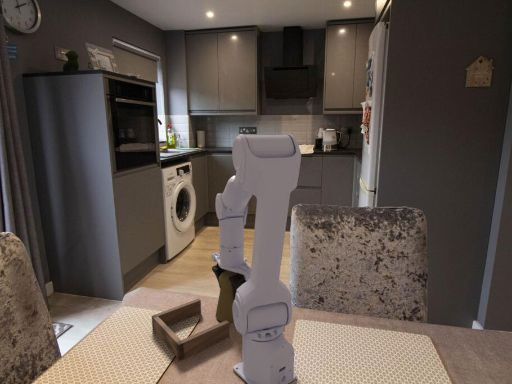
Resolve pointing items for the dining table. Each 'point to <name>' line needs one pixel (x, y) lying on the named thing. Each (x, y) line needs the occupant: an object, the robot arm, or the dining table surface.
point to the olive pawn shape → (225, 298)
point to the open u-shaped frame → (193, 342)
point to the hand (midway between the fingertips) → (232, 297)
